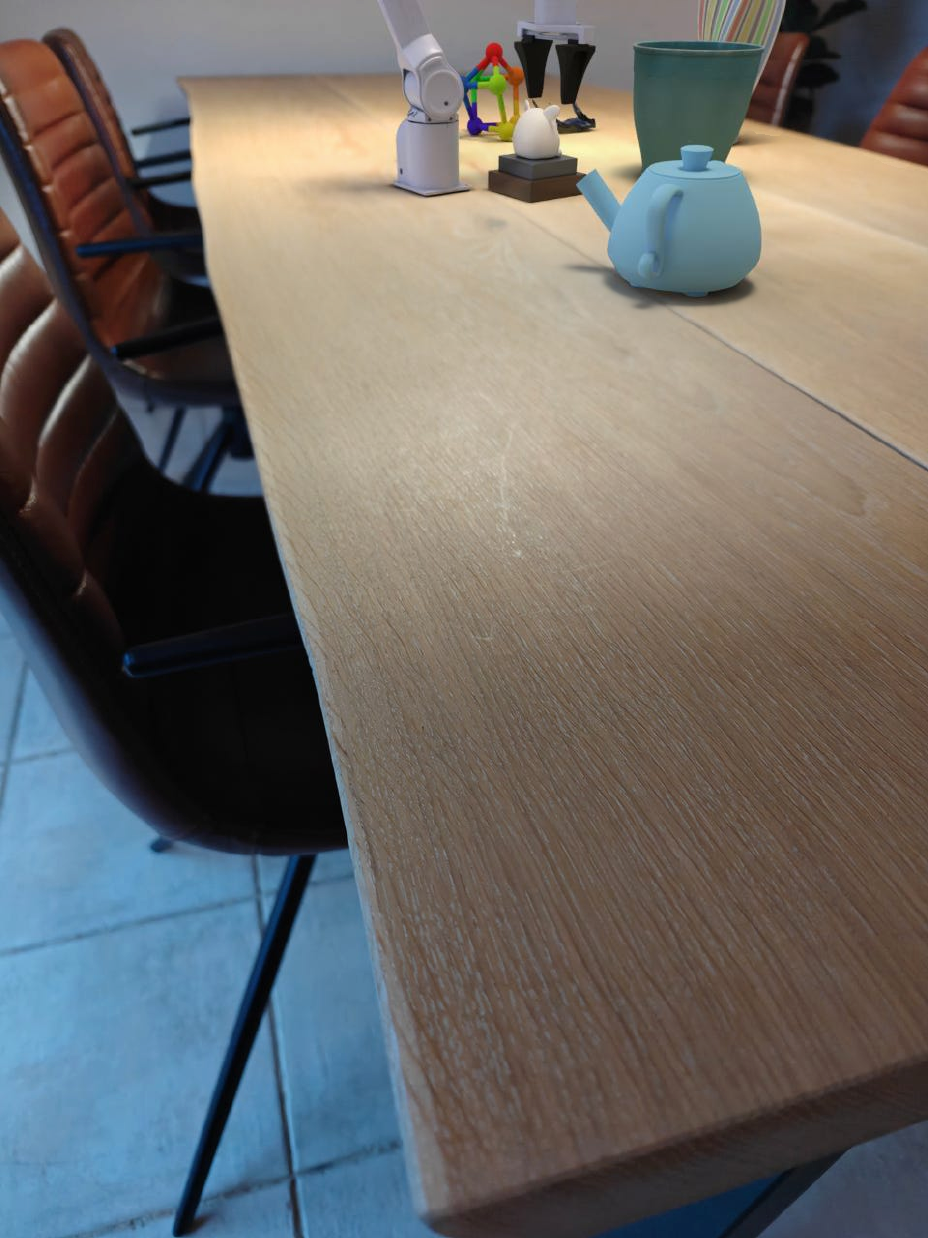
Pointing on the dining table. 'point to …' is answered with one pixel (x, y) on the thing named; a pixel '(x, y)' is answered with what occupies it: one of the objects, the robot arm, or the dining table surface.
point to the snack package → (575, 120)
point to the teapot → (681, 224)
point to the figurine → (537, 133)
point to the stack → (535, 177)
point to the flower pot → (691, 95)
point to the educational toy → (496, 87)
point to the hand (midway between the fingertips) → (551, 100)
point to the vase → (741, 24)
